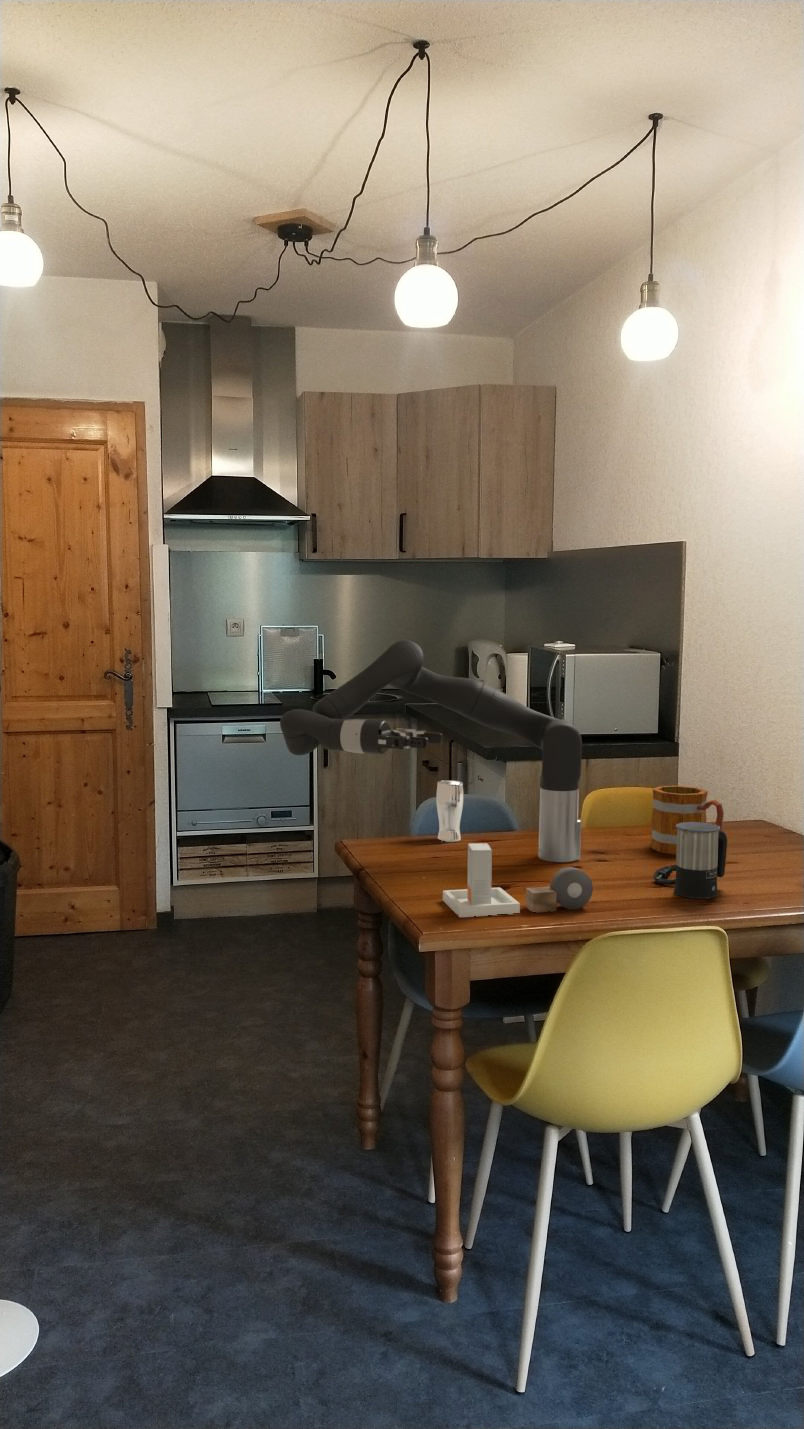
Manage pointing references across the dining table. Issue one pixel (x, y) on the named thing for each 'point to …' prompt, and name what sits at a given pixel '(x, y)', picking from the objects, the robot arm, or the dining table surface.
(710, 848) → the milk frother
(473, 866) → the skincare box
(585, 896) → the trolley wheel
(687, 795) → the mug
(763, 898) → the dining table surface
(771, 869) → the dining table surface
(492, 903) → the tray
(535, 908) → the walnut block
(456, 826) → the beer glass
